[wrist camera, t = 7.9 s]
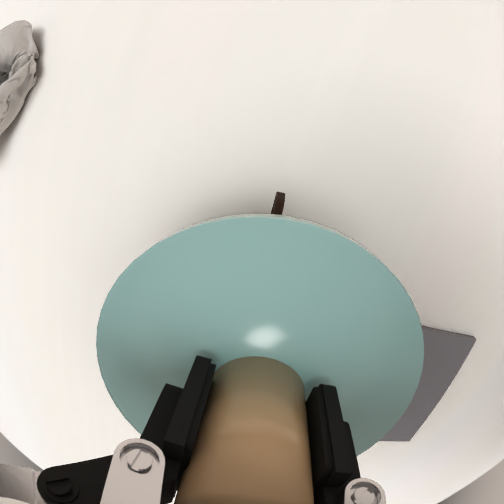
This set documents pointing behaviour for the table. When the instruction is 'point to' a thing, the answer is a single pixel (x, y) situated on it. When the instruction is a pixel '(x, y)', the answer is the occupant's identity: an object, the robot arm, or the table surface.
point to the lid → (261, 347)
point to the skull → (16, 69)
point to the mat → (432, 379)
